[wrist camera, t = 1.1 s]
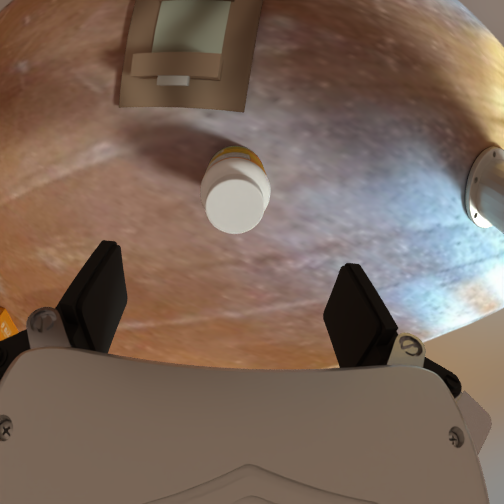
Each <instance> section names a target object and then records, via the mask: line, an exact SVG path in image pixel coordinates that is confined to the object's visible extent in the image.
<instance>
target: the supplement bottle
mask: <svg viewBox="0 0 504 504" xmlns="http://www.w3.org/2000/svg"><path fill="white" fill-rule="evenodd" d="M200 198H201V202H202V205H203V207H204V209H205V211H206V215H207V217H208V219H209V221H210V222H211V224H212V225H213V226H214V227H216V228H217V229H219V230H221V231H223V232H226V233H230V234H239V233H244V232H247V231H249V230H251V229H252V228H254V227H255V226H256V225H257V224H258V223H259V221H260V220H261V218H262V216H263V213H264V210H265V209H266V207H267V205H268V203H269V199H270V184H269V181H268V178H267V175H266V173H265V170H264V168H263V165H262V163H261V161H260V159H259V157H258V156H257V155H256V154H255V153H254V152H253V151H251V150H250V149H248V148H245V147H241V146H230V147H226V148H224V149H222V150H220V151H219V152H217V153H216V154H215V155H214V156H213V158H212V159H211V161H210V163H209V165H208V167H207V170H206V172H205V175H204V177H203V179H202V182H201V187H200Z"/></svg>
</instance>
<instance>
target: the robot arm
mask: <svg viewBox="0 0 504 504" xmlns="http://www.w3.org/2000/svg"><path fill="white" fill-rule="evenodd" d="M465 203H466V210H467V213H468V216H469V218H470V219H471V221H472V222H473V223H474V224H476V225H477V226H478V227H481V228H488V227H491V226H495V227H496V228H497V229H498V230H500V231H501V232H502V233H503V234H504V150H503V149H501V148H498V147H489V148H487V149H485V150H484V151H483V152H482V153H481V154H480V155H479V156H478V157H477V159H476V160H475V162H474V164H473V166H472V168H471V171H470V174H469V177H468V181H467V185H466V194H465ZM126 304H127V291H126V285H125V278H124V271H123V263H122V255H121V248H120V246H119V245H117V243H116V242H115V241H105V240H103V241H102V242H101V243H100V244H99V246H98V247H97V248H96V250H95V251H94V252H93V254H92V255H91V256H90V258H89V259H88V260H87V262H86V263H85V265H84V266H83V267H82V269H81V270H80V272H79V273H78V274H77V276H76V277H75V279H74V280H73V282H72V283H71V285H70V286H69V288H68V289H67V291H66V292H65V294H64V295H63V297H62V299H61V300H60V302H59V303H58V305H57V307H56V308H52V307H42V308H39V309H37V310H35V311H34V312H33V313H31V315H30V316H29V317H28V320H27V324H26V327H27V329H26V330H24V331H22V332H19V333H17V334H15V335H13V336H10V337H8V338H6V339H4V340H1V341H0V504H490V503H489V498H488V493H487V488H486V484H485V480H484V476H483V472H482V468H481V465H480V461H479V458H478V454H479V452H480V450H481V448H482V445H483V444H484V442H485V440H486V437H487V435H488V433H489V431H490V429H491V425H492V423H491V418H490V416H489V414H488V413H487V412H486V411H485V410H484V409H483V408H482V407H481V406H480V405H479V404H478V403H477V402H476V401H475V400H474V399H473V398H472V397H471V396H470V395H469V394H468V393H467V392H466V391H464V392H463V393H462V392H461V383H460V381H459V379H458V377H457V376H456V375H455V374H453V373H452V372H450V371H448V370H447V369H445V368H443V367H442V366H440V365H438V364H436V363H434V362H433V361H431V360H429V359H428V358H426V357H425V352H426V351H425V347H424V344H423V343H422V341H421V340H420V339H419V338H417V337H416V336H414V335H412V334H410V333H401V334H399V335H398V333H397V332H396V331H397V329H398V327H397V325H396V323H395V321H394V320H393V318H392V316H391V314H390V313H389V311H388V309H387V308H386V306H385V304H384V303H383V301H382V299H381V298H380V296H379V294H378V293H377V291H376V289H375V288H374V286H373V285H372V283H371V281H370V280H369V278H368V277H367V275H366V274H365V272H364V270H363V269H362V267H361V266H360V265H359V264H353V263H346V264H345V266H342V267H341V269H340V271H339V274H338V277H337V280H336V282H335V285H334V287H333V290H332V293H331V295H330V298H329V300H328V303H327V305H326V308H325V310H324V314H323V319H324V322H325V325H326V328H327V330H328V333H329V336H330V339H331V342H332V345H333V348H334V351H335V354H336V357H337V360H338V363H339V366H340V368H331V369H302V370H264V369H235V368H218V367H205V366H194V365H183V364H174V363H166V362H158V361H151V360H144V359H138V358H131V357H125V356H119V355H113V354H108V351H109V348H110V345H111V343H112V340H113V337H114V334H115V332H116V329H117V327H118V324H119V321H120V319H121V316H122V314H123V311H124V309H125V307H126Z"/></svg>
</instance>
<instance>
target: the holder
mask: <svg viewBox="0 0 504 504" xmlns="http://www.w3.org/2000/svg"><path fill="white" fill-rule="evenodd" d="M262 3H263V0H136V2H135V6H134V10H133V14H132V19H131V23H130V28H129V33H128V39H127V44H126V50H125V57H124V63H123V71H122V79H121V88H120V99H119V108H120V107H185V108H202V109H215V110H226V111H236V112H244V110H245V103H246V96H247V90H248V84H249V77H250V71H251V65H252V59H253V53H254V47H255V41H256V36H257V30H258V24H259V19H260V13H261V8H262Z"/></svg>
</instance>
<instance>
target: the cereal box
mask: <svg viewBox="0 0 504 504" xmlns="http://www.w3.org/2000/svg"><path fill="white" fill-rule="evenodd" d="M18 332H19V331H18V330H17V328H16V326H15V325H14V323H13V321H12V319H11V318H10V316H9V314H8V312H7V310H6V309H5V308H1V307H0V341H1V340H4V339H6V338H8V337H10V336H13V335H15V334H17V333H18Z"/></svg>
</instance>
